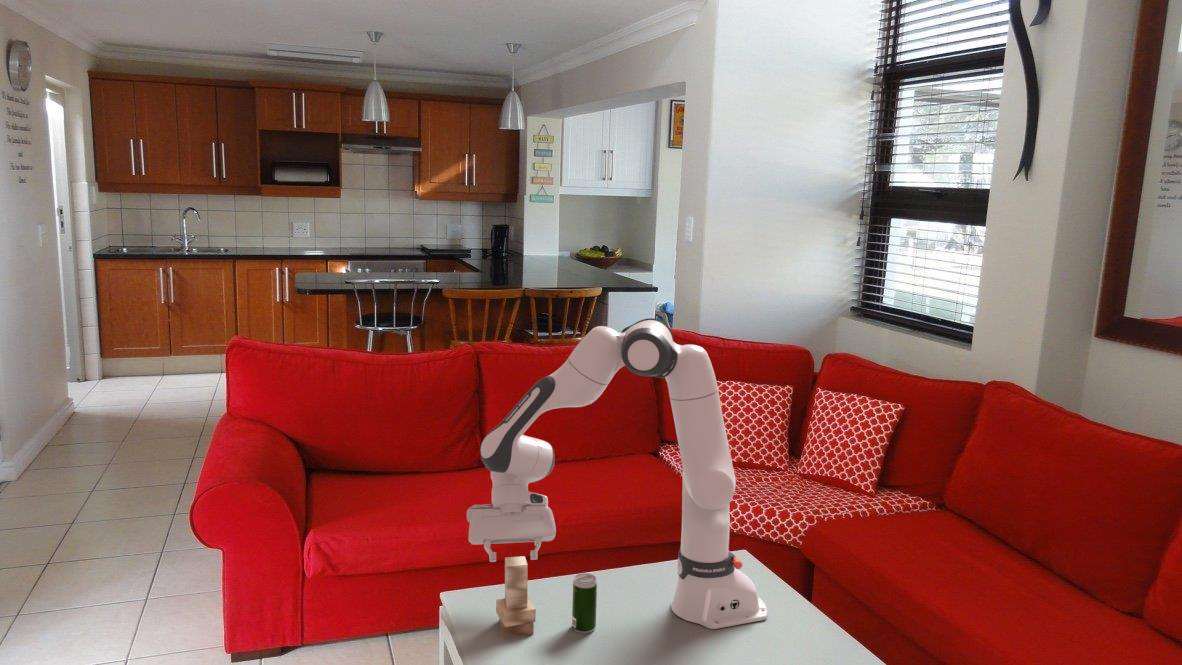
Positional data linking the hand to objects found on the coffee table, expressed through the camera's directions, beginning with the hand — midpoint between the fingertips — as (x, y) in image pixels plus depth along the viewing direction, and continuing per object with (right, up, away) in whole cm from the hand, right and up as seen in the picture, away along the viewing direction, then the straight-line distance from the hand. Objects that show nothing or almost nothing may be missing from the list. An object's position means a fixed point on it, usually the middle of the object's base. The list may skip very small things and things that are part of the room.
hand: (513, 560), depth 192 cm
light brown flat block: (+1, -14, -4) cm, 15 cm away
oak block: (+1, -11, -4) cm, 12 cm away
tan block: (+1, -8, -4) cm, 10 cm away
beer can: (+16, -15, -3) cm, 22 cm away
